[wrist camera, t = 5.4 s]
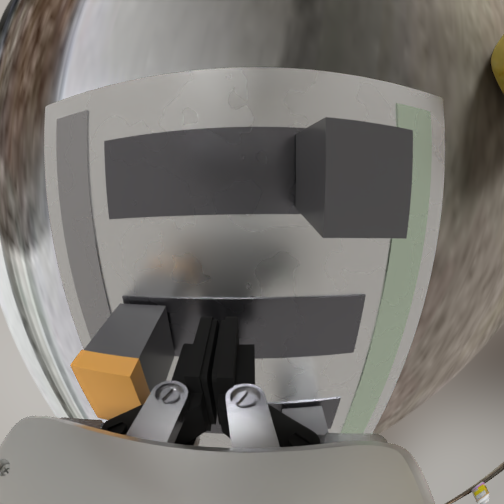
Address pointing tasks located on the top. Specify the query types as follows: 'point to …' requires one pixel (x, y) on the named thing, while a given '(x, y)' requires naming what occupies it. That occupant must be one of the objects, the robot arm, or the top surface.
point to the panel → (243, 226)
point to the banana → (498, 63)
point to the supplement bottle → (481, 493)
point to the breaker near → (354, 178)
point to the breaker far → (309, 418)
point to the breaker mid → (125, 359)
